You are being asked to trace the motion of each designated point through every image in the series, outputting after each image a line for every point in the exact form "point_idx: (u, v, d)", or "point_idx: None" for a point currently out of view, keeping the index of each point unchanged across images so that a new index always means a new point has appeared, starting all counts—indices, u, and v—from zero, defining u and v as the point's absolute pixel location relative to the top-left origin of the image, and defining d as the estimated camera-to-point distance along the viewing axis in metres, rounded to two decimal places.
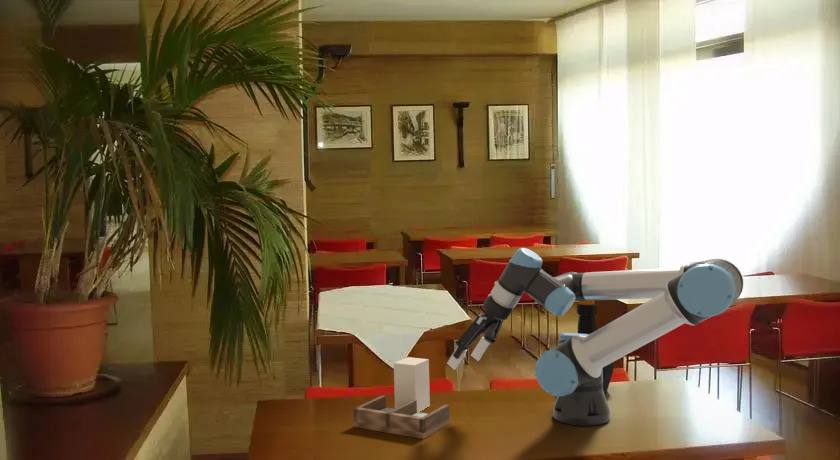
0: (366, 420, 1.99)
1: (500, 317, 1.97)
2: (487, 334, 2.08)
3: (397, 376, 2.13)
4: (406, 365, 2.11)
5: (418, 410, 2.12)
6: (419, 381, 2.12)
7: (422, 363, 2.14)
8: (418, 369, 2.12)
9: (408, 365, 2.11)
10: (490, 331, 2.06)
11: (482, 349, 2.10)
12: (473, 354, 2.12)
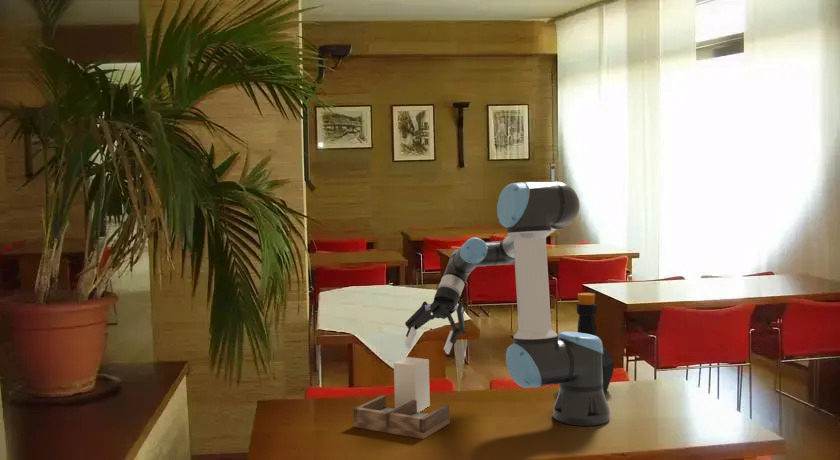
0: (366, 420, 1.99)
1: (435, 294, 2.33)
2: None
3: (397, 376, 2.13)
4: (406, 365, 2.11)
5: (418, 410, 2.12)
6: (419, 381, 2.12)
7: (422, 363, 2.14)
8: (418, 369, 2.12)
9: (408, 365, 2.11)
10: None
11: None
12: None
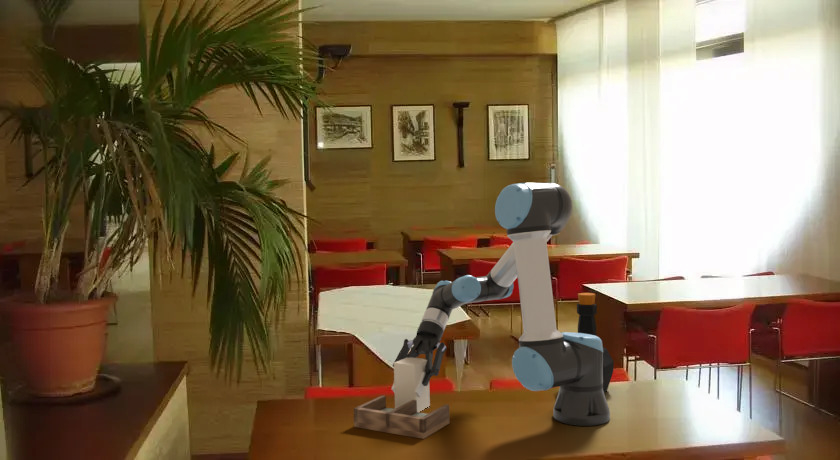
0: (366, 420, 1.99)
1: (418, 329, 2.23)
2: None
3: (397, 376, 2.13)
4: (406, 365, 2.11)
5: (418, 410, 2.12)
6: None
7: (422, 363, 2.14)
8: (418, 369, 2.12)
9: (408, 365, 2.11)
10: None
11: None
12: None
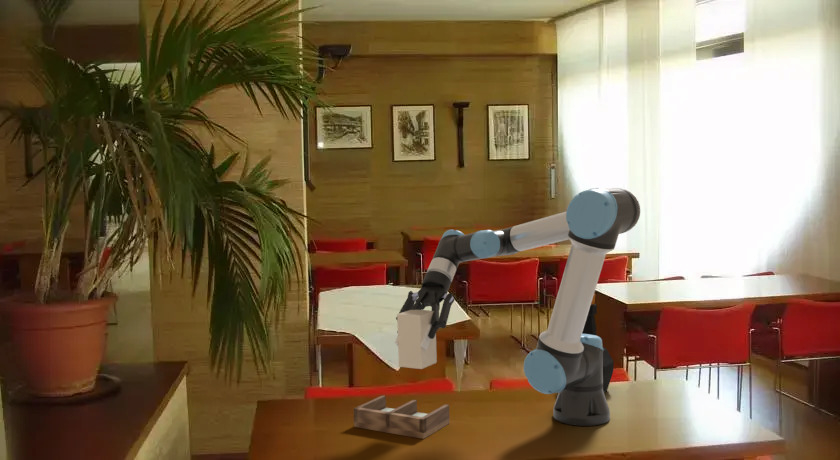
0: (366, 420, 1.99)
1: (424, 279, 2.06)
2: None
3: (401, 329, 1.96)
4: (410, 316, 1.95)
5: (424, 365, 1.95)
6: None
7: (428, 314, 1.97)
8: (424, 321, 1.95)
9: (413, 316, 1.94)
10: None
11: None
12: None
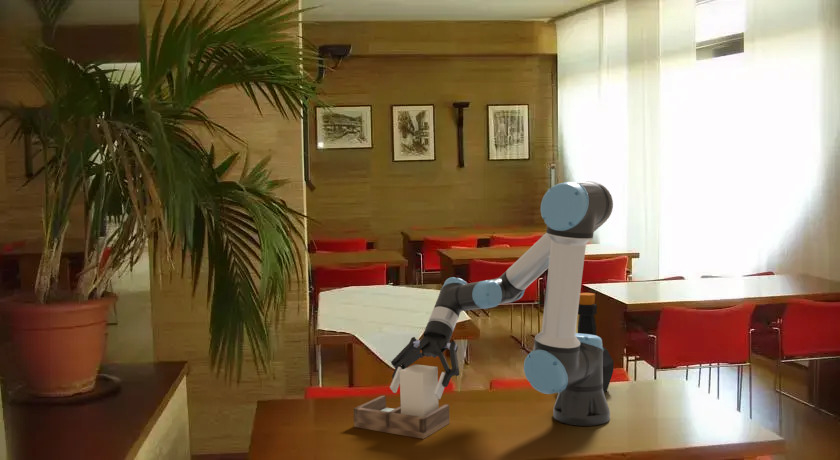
0: (366, 420, 1.99)
1: (425, 329, 2.07)
2: None
3: (404, 385, 1.97)
4: (413, 373, 1.95)
5: None
6: (427, 390, 1.96)
7: (430, 371, 1.97)
8: (426, 378, 1.95)
9: (415, 373, 1.95)
10: (440, 359, 2.00)
11: None
12: None
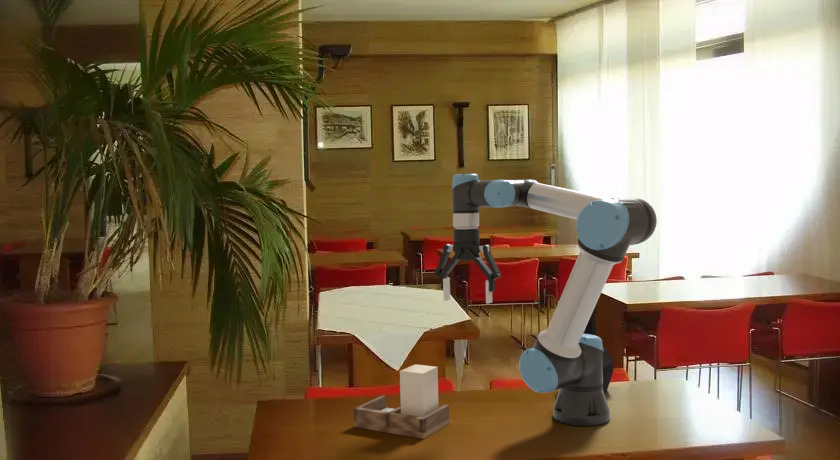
0: (366, 420, 1.99)
1: (454, 239, 2.13)
2: None
3: (404, 385, 1.97)
4: (413, 373, 1.95)
5: None
6: (427, 390, 1.96)
7: (430, 371, 1.97)
8: (426, 378, 1.95)
9: (415, 373, 1.95)
10: None
11: None
12: None
